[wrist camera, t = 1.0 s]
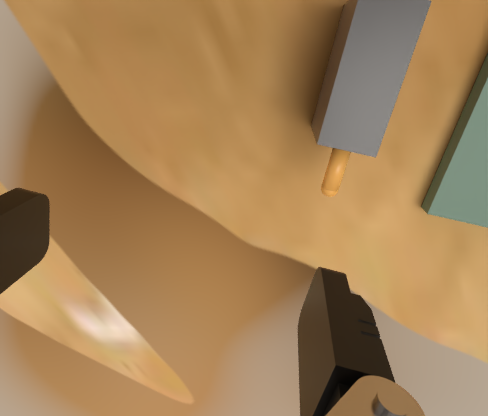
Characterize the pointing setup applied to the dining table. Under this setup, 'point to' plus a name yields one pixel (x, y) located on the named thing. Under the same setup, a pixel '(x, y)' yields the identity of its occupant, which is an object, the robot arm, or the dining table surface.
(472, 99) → the header board
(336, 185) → the block
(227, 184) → the dining table surface
